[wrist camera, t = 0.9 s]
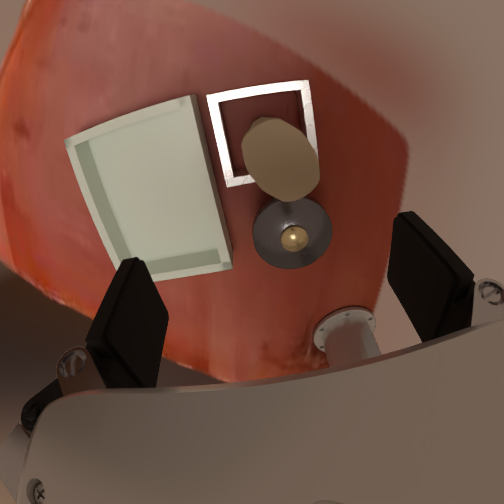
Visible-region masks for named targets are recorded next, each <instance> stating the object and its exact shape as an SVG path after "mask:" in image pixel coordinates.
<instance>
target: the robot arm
mask: <svg viewBox="0 0 504 504" xmlns="http://www.w3.org/2000/svg"><path fill="white" fill-rule="evenodd" d="M387 278H388V282H389V284H390V286H391V287H392V289H393V291H394V293H395V294H396V296H397V298H398V299H399V301H400V303H401V304H402V306H403V308H404V310H405V312H406V313H407V315H408V317H409V319H410V320H411V322H412V324H413V326H414V328H415V329H416V331H417V333H418V335H419V337H420V339H421V341H422V343H420V344H417V345H414V346H411V347H407V348H404V349H401V350H398V351H394V352H390V353H387V354H383V355H381V352H380V350H379V347H378V345H377V343H376V340H375V338H374V335H373V332H374V330H375V327H376V320H375V317H374V315H373V314H372V312H371V311H369V310H368V309H366V308H363V307H347V308H343V309H340V310H337V311H335V312H333V313H331V314H329V315H328V316H326V317H325V318H324V319H322V320H321V321H320V323H319V324H318V325H317V326H316V328H315V330H314V333H313V339H314V343H315V345H316V347H317V348H318V349H320V350H321V351H324V352H325V353H326V357H327V360H328V364H329V368H324V369H319V370H314V371H309V372H304V373H298V374H292V375H286V376H280V377H273V378H266V379H259V380H251V381H243V382H234V383H224V384H213V385H200V386H183V387H160V388H156V383H157V377H158V372H159V366H160V361H161V356H162V350H163V345H164V340H165V335H166V330H167V326H168V321H169V315H168V311H167V309H166V307H165V305H164V303H163V301H162V299H161V297H160V295H159V293H158V290H157V288H156V286H155V284H154V282H153V280H152V277H151V275H150V273H149V271H148V268H147V266H146V264H145V262H144V261H143V260H140V259H139V258H138V257H133V258H128V259H123V260H122V262H121V264H120V266H119V268H118V270H117V272H116V274H115V276H114V278H113V280H112V282H111V284H110V286H109V288H108V290H107V292H106V294H105V296H104V298H103V301H102V303H101V305H100V307H99V309H98V312H97V314H96V316H95V318H94V321H93V323H92V325H91V328H90V330H89V332H88V335H87V337H86V340H85V341H86V342H87V343H88V344H87V346H86V348H84V347H75V348H72V349H70V350H68V351H67V352H66V353H64V354H63V356H62V357H61V358H60V359H59V361H58V364H57V368H56V372H57V377H58V378H57V379H56V380H54V381H53V382H52V383H50V384H49V385H48V386H47V387H45V388H44V389H43V390H42V391H40V392H39V393H38V394H36V395H35V396H34V397H32V398H31V399H30V400H29V401H28V402H27V403H26V404H25V406H24V407H23V410H22V413H21V421H22V425H21V424H19V423H18V424H17V425H16V426H15V428H14V429H13V430H12V432H11V433H10V434H9V436H8V437H7V438H6V440H5V441H4V443H3V444H2V445H1V447H0V478H1V479H2V481H3V483H4V485H5V486H6V488H7V489H8V491H9V492H10V494H11V495H12V497H13V499H14V500H15V502H16V503H17V504H504V286H503V285H502V284H501V283H499V282H498V281H496V280H493V279H488V278H485V279H481V280H479V281H478V282H477V283H475V282H474V281H473V278H474V274H473V273H472V271H471V270H470V269H469V268H468V267H467V266H466V265H465V264H464V262H462V260H461V259H460V258H459V257H458V256H457V255H456V254H455V253H454V252H453V250H452V249H451V248H450V247H449V246H448V245H447V244H446V243H445V242H444V241H443V240H442V239H441V238H440V237H439V236H438V235H437V234H436V233H435V232H434V231H433V230H432V229H431V228H430V227H429V226H428V225H427V224H426V223H425V222H424V221H423V220H422V219H421V218H420V217H419V216H418V215H417V214H416V213H415V212H413V211H409V212H402V213H399V214H398V215H397V217H395V218H394V222H393V232H392V242H391V250H390V258H389V266H388V273H387Z"/></svg>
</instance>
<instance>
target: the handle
mask: <svg viewBox="0 0 504 504" xmlns="http://www.w3.org/2000/svg"><path fill="white" fill-rule="evenodd" d="M241 147H242V153H243V158H244V162H245V166H246V168H247V171H248V172H249V174H250V175H251V177H252V178H253V179H254V181H255V182H256V183H257V184H258V186H259V187H260V188H261V189H262V190H263V191H265V192H266V193H268V194H269V195H271V196H273V197H275V198H277V199H279V200H281V201H283V202H290V201H295V200H298V199H300V198H302V197H304V196H306V195H307V194H309V193H310V192H311V191H312V190H313V189H314V188H315V187H316V185H317V184H318V182H319V180H320V171H319V162H318V157H317V154H316V152H315V150H314V149H313V147H312V146H311V144H310V142H309V141H308V139H307V138H306V137H305V135H304V134H303V133H302V132H301V131H300V130H298V129H297V128H295V127H294V126H292V125H290V124H289V123H287V122H285V121H283V120H281V119H279V118H269V117H260V118H259V119H257V120H256V121H254V122H253V123H252V124H251V127H250V129H249V130H248V131H247V133H246V134H245V136H244V137H243V140H242V142H241Z"/></svg>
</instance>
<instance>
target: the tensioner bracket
mask: <svg viewBox="0 0 504 504" xmlns="http://www.w3.org/2000/svg"><path fill="white" fill-rule="evenodd" d="M290 90H296V96H297V102H298V109H299V116H300V123H301V130H302V133H303V134H304V135H305V137H306V138H307V139H308V141H309V142H310V144H311V146H312V147H313V149H314V150H315V152H316V154H317V157H318V151H317V141H316V133H315V124H314V116H313V108H312V101H311V94H310V87H309V81H308V80H299V81H289V82H281V83H273V84H265V85H258V86H252V87H246V88H240V89H235V90H229V91H224V92H219V93H215V94H210V95H207V100H208V105H209V109H210V114H211V118H212V123H213V128H214V132H215V137H216V141H217V146H218V150H219V155H220V159H221V164H222V168H223V172H224V177H225V181H226V186H227V187H231V186H237V185H242V184H248V183H253V182H255V181H254V179H253V178H252V177H251V175H250V174H249V172H248V171H247V168H243V169H238V170H234V169H233V164H232V159H231V154H230V150H229V145H228V140H227V135H226V131H225V126H224V121H223V116H222V112H221V107H220V102H221V101H226V100H231V99H236V98H242V97H248V96H254V95H260V94H267V93H274V92H282V91H290ZM318 162H319V161H318ZM331 238H332V224H331V221H330V218H329V216H328V215H327V213H326V211H325V210H324V208H323V207H322V205H321V204H320V203H319V202H318V201H316V200H315V199H314V198H312V197H310V196H308V195H306V196H304V197H302V198H300V199H298V200H295V201H290V202H283V201H281V200H279V199H277V198H275V197H274V198H272V199H270V200H269V201H267V202H266V203H265V204H264V205H263V206H262V207H261V208H260V209H259V211H258V212H257V214H256V216H255V219H254V222H253V240H254V245H255V248H256V251H257V252H258V254H259V256H260V257H261V258H262V259H263V260H264V261H266V262H267V263H269V264H270V265H273V266H275V267H278V268H283V269H295V268H300V267H304V266H307V265H309V264H311V263H313V262H314V261H316V260H317V259H318V258H319V257H321V256H322V255H323V253H324V252H325V251H326V249H327V248H328V246H329V244H330V241H331Z"/></svg>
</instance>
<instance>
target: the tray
mask: <svg viewBox="0 0 504 504" xmlns="http://www.w3.org/2000/svg"><path fill="white" fill-rule="evenodd" d="M64 142H65V145H66V148H67V152H68V155H69V158H70V161H71V164H72V166H73V169H74V172H75V175H76V178H77V181H78V183H79V186H80V189H81V191H82V194H83V196H84V199H85V201H86V204H87V206H88V209H89V211H90V214H91V216H92V219H93V221H94V223H95V226H96V228H97V230H98V232H99V235H100V237H101V239H102V241H103V243H104V246H105V248H106V250H107V252H108V254H109V256H110V258H111V260H112V262H113V264H114V266H115V268H116V270H118V268H119V266H120V264H121V262H122V260H123V259H128V258H133V257H138V258H139V259H140V260H143V261H144V262H145V264H146V266H147V268H148V271H149V273H150V275H151V277H152V280H153V282H155V281H161V280H168V279H174V278H180V277H186V276H192V275H199V274H205V273H211V272H217V271H223V270H229V269H233V249H232V245H231V241H230V237H229V233H228V229H227V225H226V221H225V217H224V213H223V209H222V204H221V200H220V196H219V192H218V188H217V184H216V180H215V175H214V171H213V167H212V163H211V158H210V154H209V150H208V146H207V141H206V137H205V133H204V128H203V124H202V119H201V115H200V111H199V106H198V102H197V97H196V94H193V95H189V96H185V97H181V98H177V99H173V100H170V101H166V102H163V103H160V104H156V105H153V106H150V107H147V108H144V109H140V110H137V111H135V112H132V113H129V114H126V115H123V116H120V117H118V118H115V119H112V120H110V121H107V122H105V123H102V124H100V125H97V126H95V127H92V128H90V129H87V130H85V131H83V132H81V133H78V134H76V135H74V136H72V137H69V138H67V139H65V140H64Z"/></svg>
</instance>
